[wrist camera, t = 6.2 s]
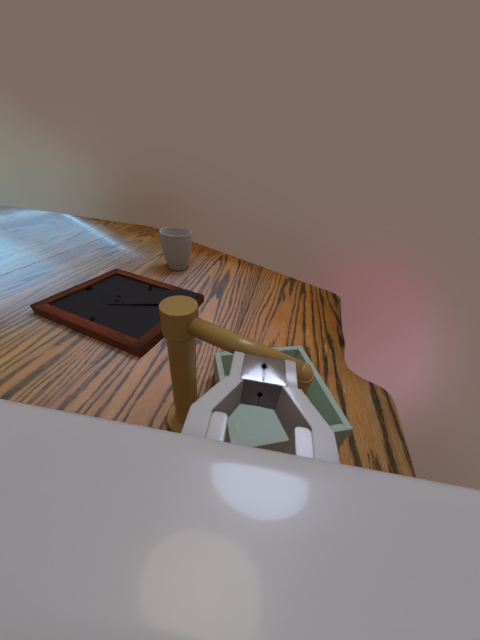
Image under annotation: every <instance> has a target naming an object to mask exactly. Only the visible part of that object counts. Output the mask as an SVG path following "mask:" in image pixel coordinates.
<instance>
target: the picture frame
mask: <svg viewBox="0 0 480 640" xmlns="http://www.w3.org/2000/svg"><path fill="white" fill-rule="evenodd" d="M177 295H183V296H188V297H191V298H193V299H195V300H196V301H197V303H198V306H199V305H200V304H202V303H203V302H204V295H202V294H199V293H195V292H192V291H189V290H186V289H182V288H179V287H176V286H172V285H169V284H166V283H162V282H159V281H156V280H153V279H149V278H146V277H143V276H139V275H136V274H133V273H129V272H126V271H123V270H120V269H115V270H112V271H110V272H107V273H105V274H103V275H100V276H98V277H96V278H93V279H91V280H88V281H86V282H84V283H81V284H79V285H77V286H74V287H72V288H69V289H67V290H65V291H62V292H60V293H58V294H55V295H53V296H50V297H48V298H46V299H43V300H41V301H39V302H36V303H34V304H31V305H30V306H31V308H32V310H33V312H34V313H36V314H38V315H40V316H43V317H45V318H48V319H50V320H52V321H55V322H57V323H59V324H62V325H64V326H67V327H69V328H71V329H74V330H76V331H79V332H81V333H83V334H86V335H88V336H91V337H93V338H95V339H98V340H100V341H103V342H105V343H107V344H110V345H112V346H114V347H117V348H119V349H122V350H124V351H126V352H129V353H131V354H134V355H136V356H138V357H142V356H143V355H144V354H145V353H146V352H148V351H149V350H150V349H151V348H152V347H153V346H154V345H155V344H157V343H158V342H159V341H160V340H161V339H162V338H163V337H164V336H163V334H162V329H161V321H160V314H159V304H160V302H161V301H162V300H163V299H165V298H167V297H171V296H177Z"/></svg>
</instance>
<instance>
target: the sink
mask: <svg viewBox="0 0 480 640" xmlns="http://www.w3.org/2000/svg"><path fill="white" fill-rule="evenodd" d="M273 349H275V350H278V351H280V352H283V353H285V354H288V355H290V356H292V357H295V358H297V359H300V360H302V361H305V362H307V363H308V364H309V365H310V366H311V367H312V370H313V374H314V378H313V381H312V383H311V385H310V388H309V390H308V392H307V395H306V396H307V398H308V399H309V400H310V401H311V403H312V404H313V405H314V407H315V408H316V409H317V411H318V412H319V413H320V414H321V416H322V417H323V418H324V420H325V421H326V422H327V423H328V425H329V426H330V427H331V429H332V430H333V431H334V433H335V438H336V443H337V448H338V449H339V447H340V446H341V444H342V443H343V442H344V440H345V439H346V438H347V436H348V435H349V433H350V432H351V431H352V429H353V428H352V426H351V425H350V423H349V422H348V420H347V418H346V417H345V415H344V414H343V412H342V410H341V409H340V407H339V406H338V404H337V402H336V401H335V399H334V398H333V396H332V394H331V393H330V391H329V389H328V388H327V386H326V385H325V383H324V381H323V380H322V378H321V377H320V375H319V373H318V372H317V370H316V369H315V367H314V365H313V364H312V362H311V361H310V359H309V357H308V356H307V354H306V353H305V351H304V349H303V348H302V346H288V347H276V348H273ZM233 355H234V354H232V353H230V352H215V355H214V379H215V385H216V384H217V383H218V382H219V381H221V380H222V379H223V378H224V377H225V376H228V377H229V373H230V369H231V364H232V360H233ZM225 442H229V443H234V444H240V445H245V446H250V447H255V448H261V449H266V450H271V451H277V452H282V453H283V452H284V450H285V448H286V446H287V444H288V442H289V438H288V436H287V434H286V432H285V431H284V429H283V427H282V425H281V423H280V421H279V419H278V417H277V415H276V413H275V411H274V410H273V409H268V408H263V407H258V406H252V405H246V404H240V405H239V406H238V407H237V408H236V409H235V411H234V412H233V413H232V414H231V415H230V416H229V418H228V419H227V427H226V435H225Z"/></svg>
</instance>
